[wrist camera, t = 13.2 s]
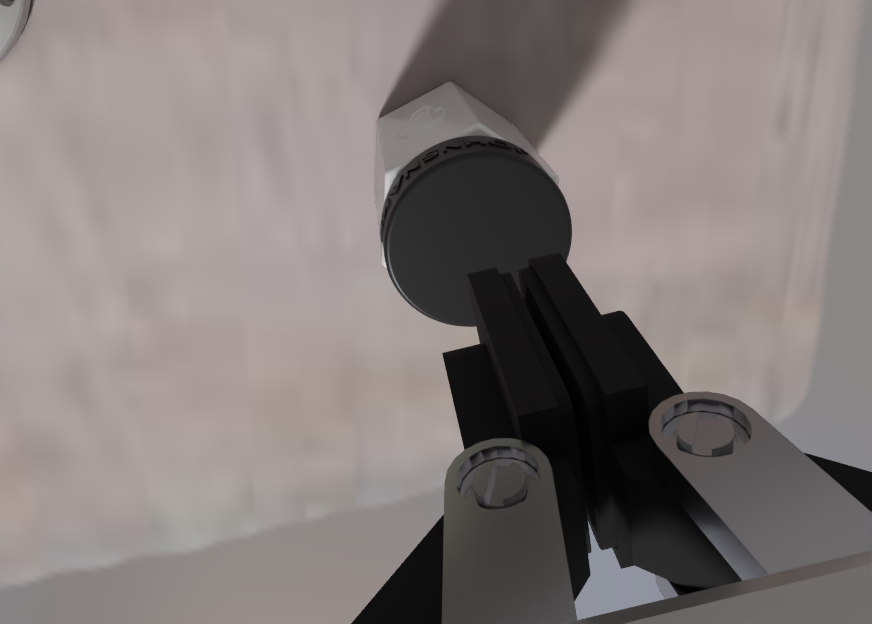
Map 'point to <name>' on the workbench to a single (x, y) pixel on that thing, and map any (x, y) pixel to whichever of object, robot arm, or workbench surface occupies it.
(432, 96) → the jar
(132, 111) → the workbench surface
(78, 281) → the workbench surface
